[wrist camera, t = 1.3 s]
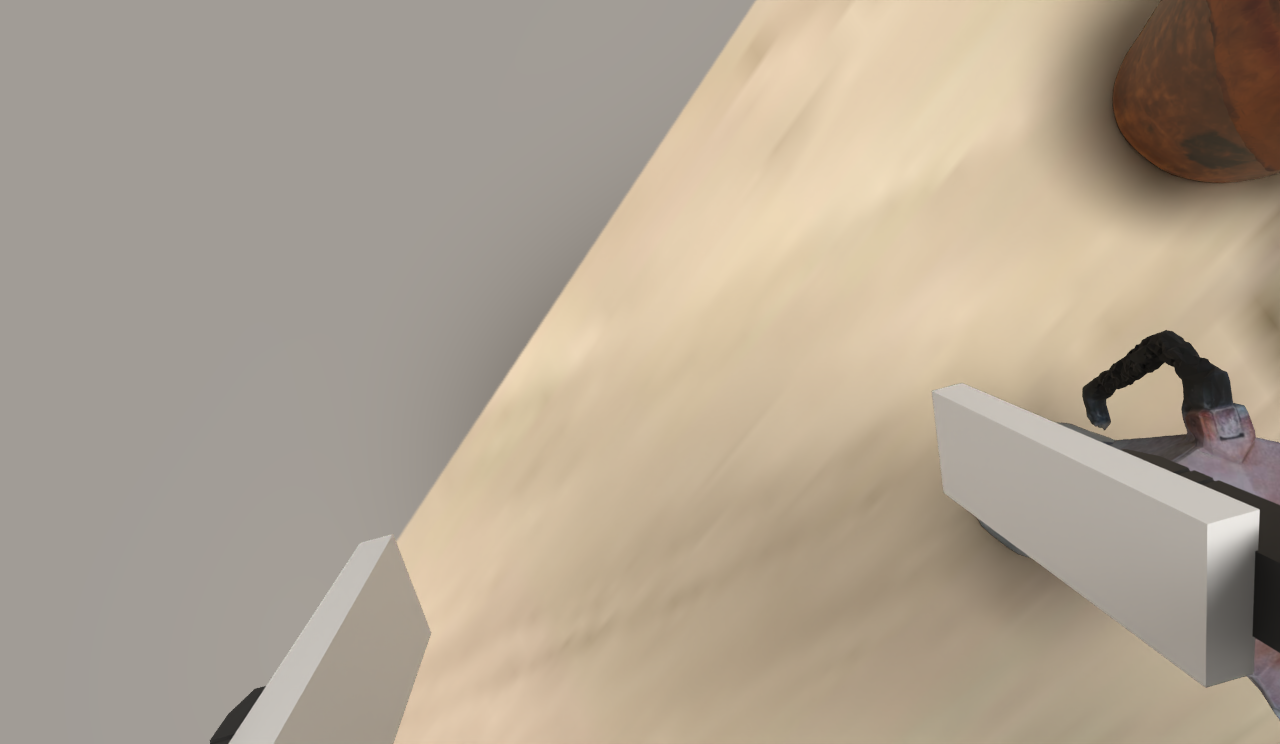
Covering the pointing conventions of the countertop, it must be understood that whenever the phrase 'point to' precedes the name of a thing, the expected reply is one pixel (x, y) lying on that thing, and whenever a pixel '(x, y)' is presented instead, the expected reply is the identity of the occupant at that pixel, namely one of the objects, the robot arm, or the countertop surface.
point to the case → (1205, 89)
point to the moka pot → (1195, 444)
